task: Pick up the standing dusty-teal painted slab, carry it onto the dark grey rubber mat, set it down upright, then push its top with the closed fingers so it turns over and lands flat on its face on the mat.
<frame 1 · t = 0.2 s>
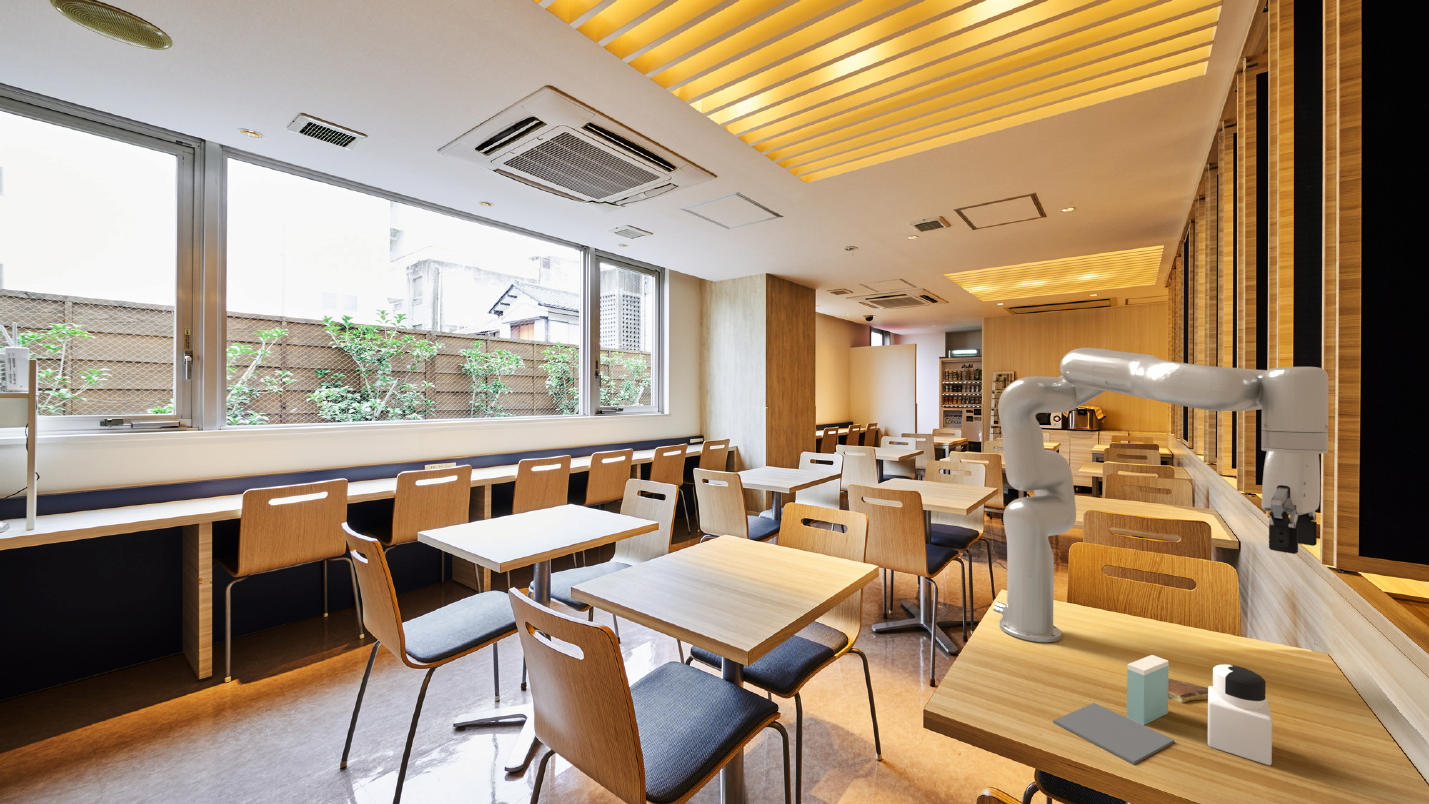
hand: (1293, 547, 90), 31 cm above the table, fingers open, 9 cm apart
medicine bottle: (1237, 747, 88), on the table
slab: (1147, 715, 96), on the table
shard: (1177, 693, 105), on the table
mat: (1112, 732, 91), on the table
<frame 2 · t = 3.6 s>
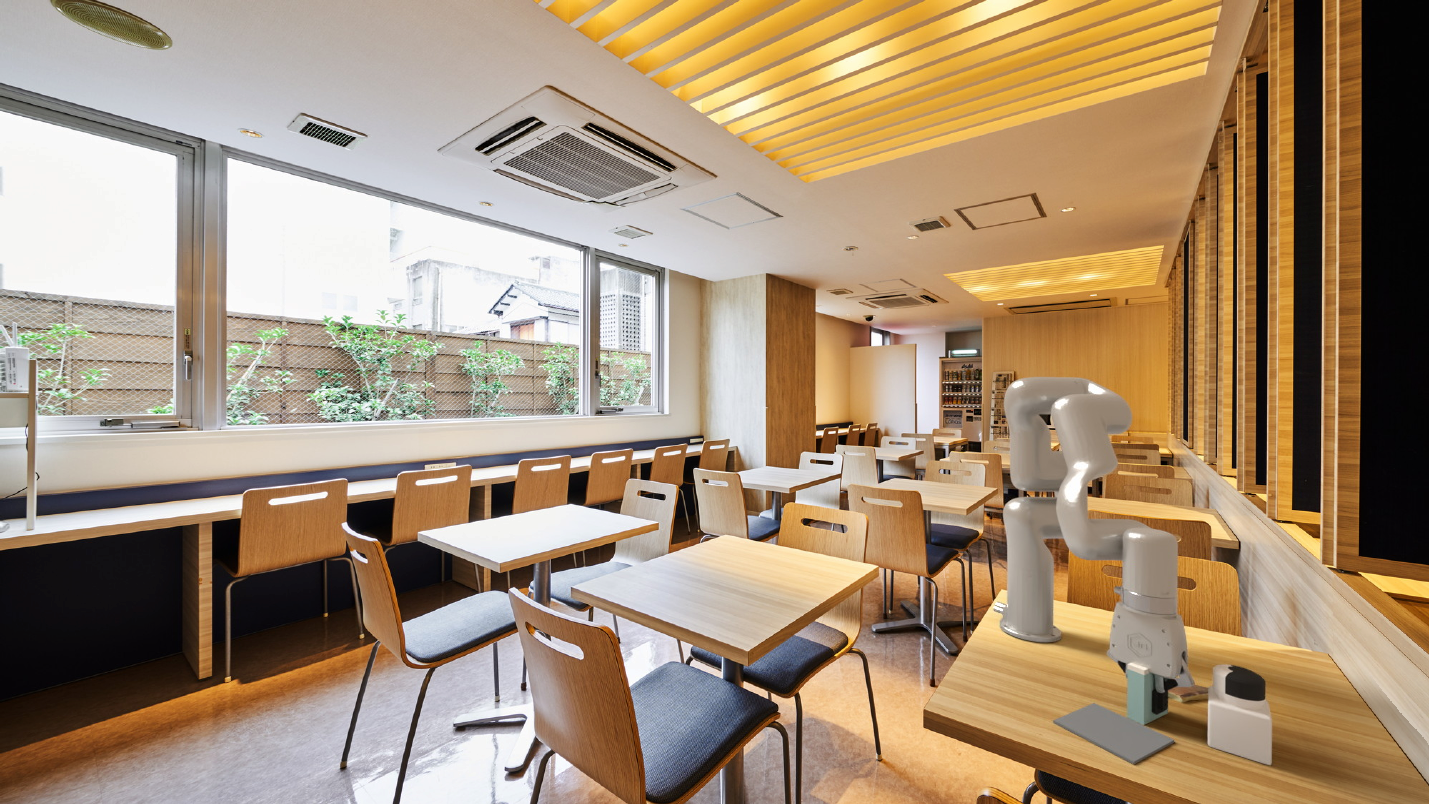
hand: (1147, 706, 96), 2 cm above the table, fingers closed on slab, 2 cm apart
slab: (1147, 715, 96), on the table, touching gripper
everything else where it was.
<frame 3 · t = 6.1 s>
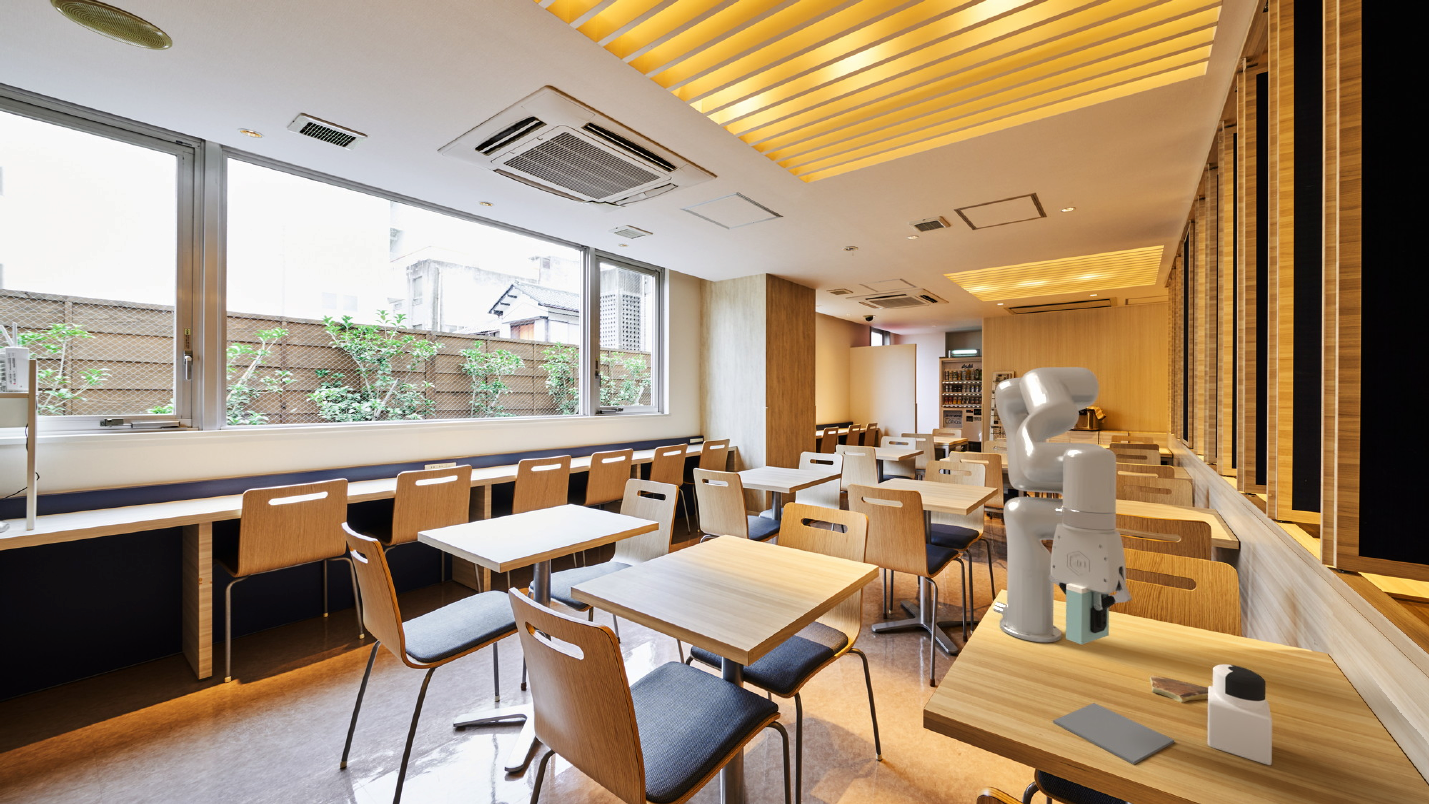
hand: (1087, 626, 94), 16 cm above the table, fingers closed on slab, 2 cm apart
slab: (1087, 637, 94), point 14 cm above the table, touching gripper
everything else where it was.
when the fingers open (3 cm above the table, at t = 8.5 s): slab stays where it is, resting on mat.
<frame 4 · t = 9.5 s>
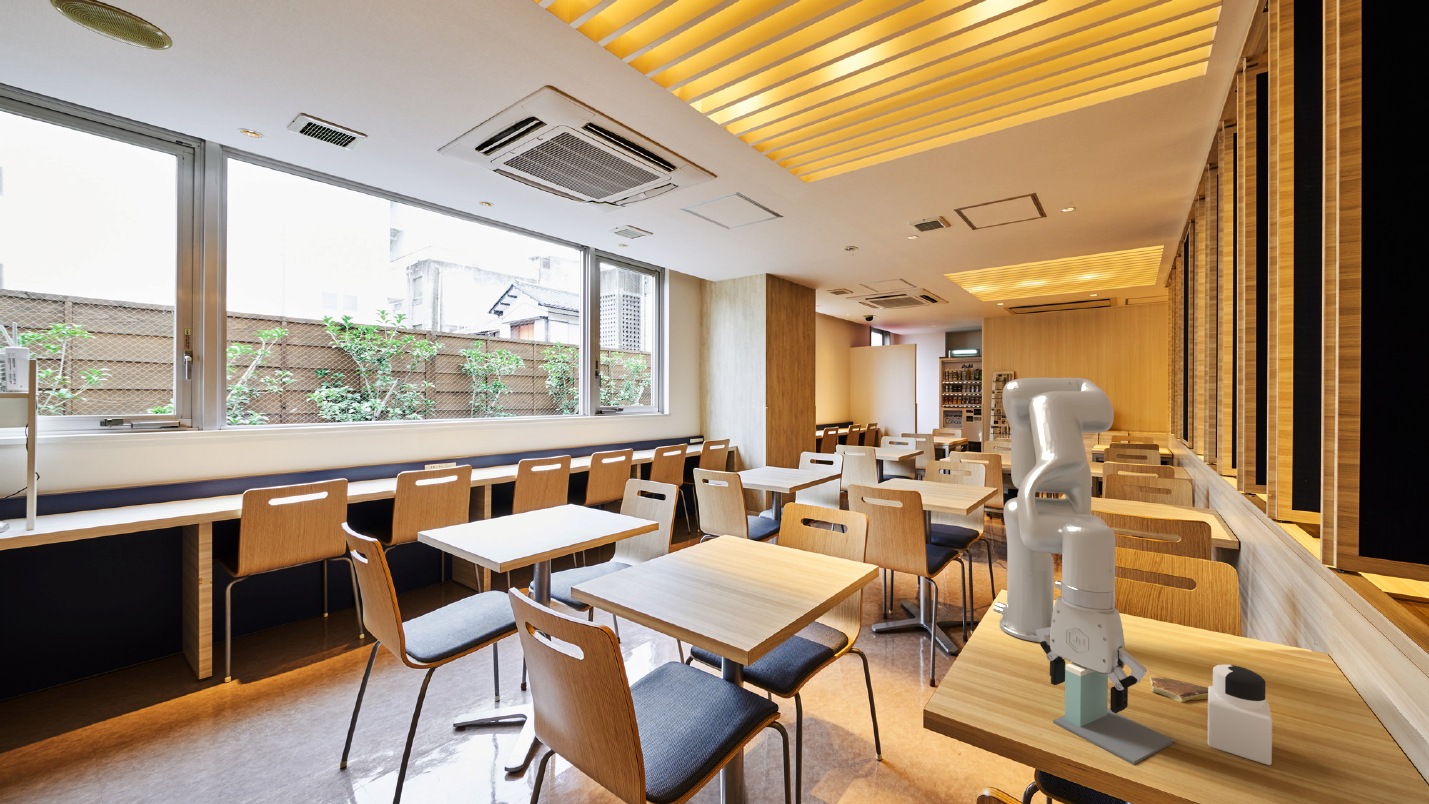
hand: (1086, 696, 94), 4 cm above the table, fingers open, 9 cm apart
slab: (1086, 716, 95), resting on mat
everything else where it was.
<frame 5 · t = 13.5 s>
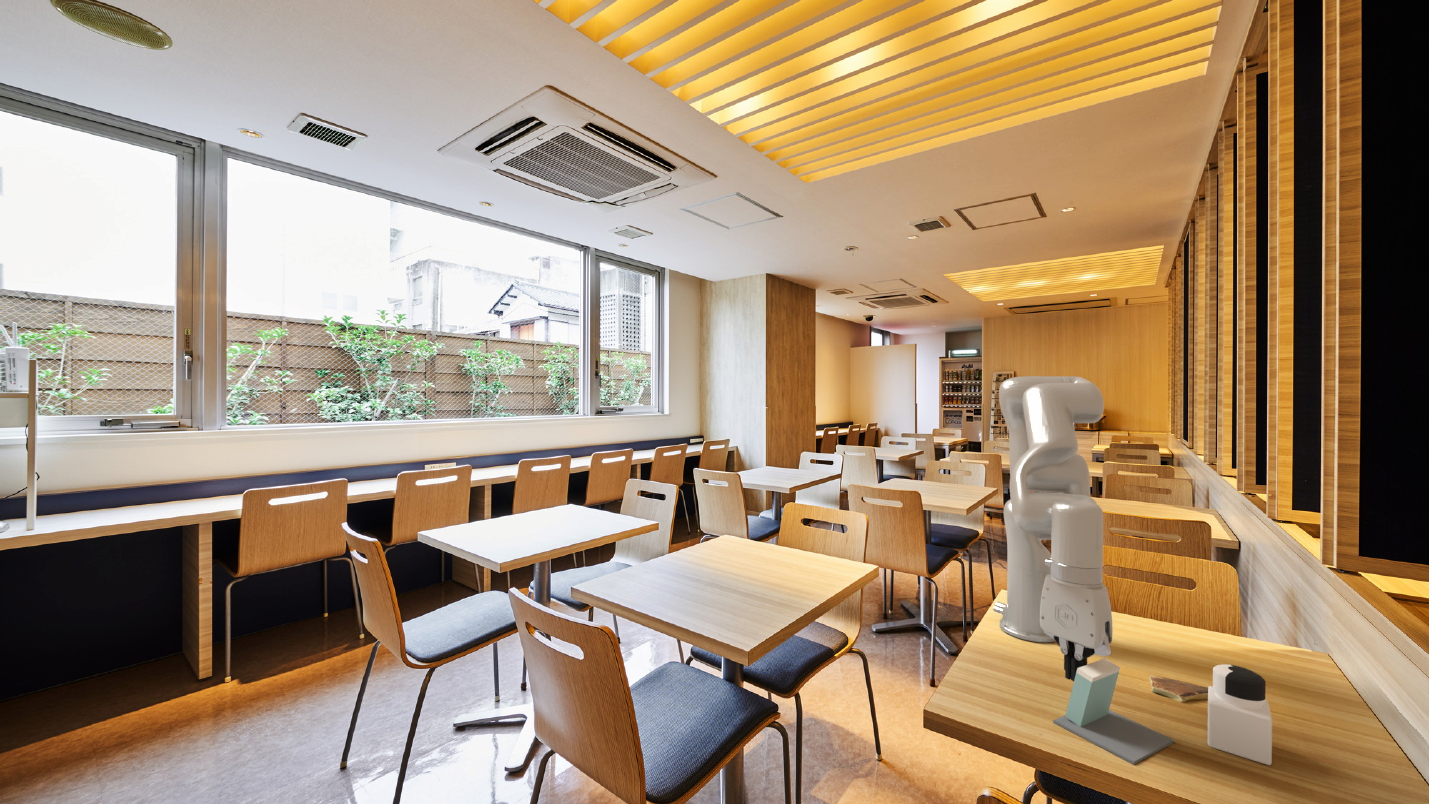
hand: (1075, 678, 96), 6 cm above the table, fingers closed
slab: (1086, 715, 95), point 1 cm above the table, tilted 12°, touching mat
everything else where it was.
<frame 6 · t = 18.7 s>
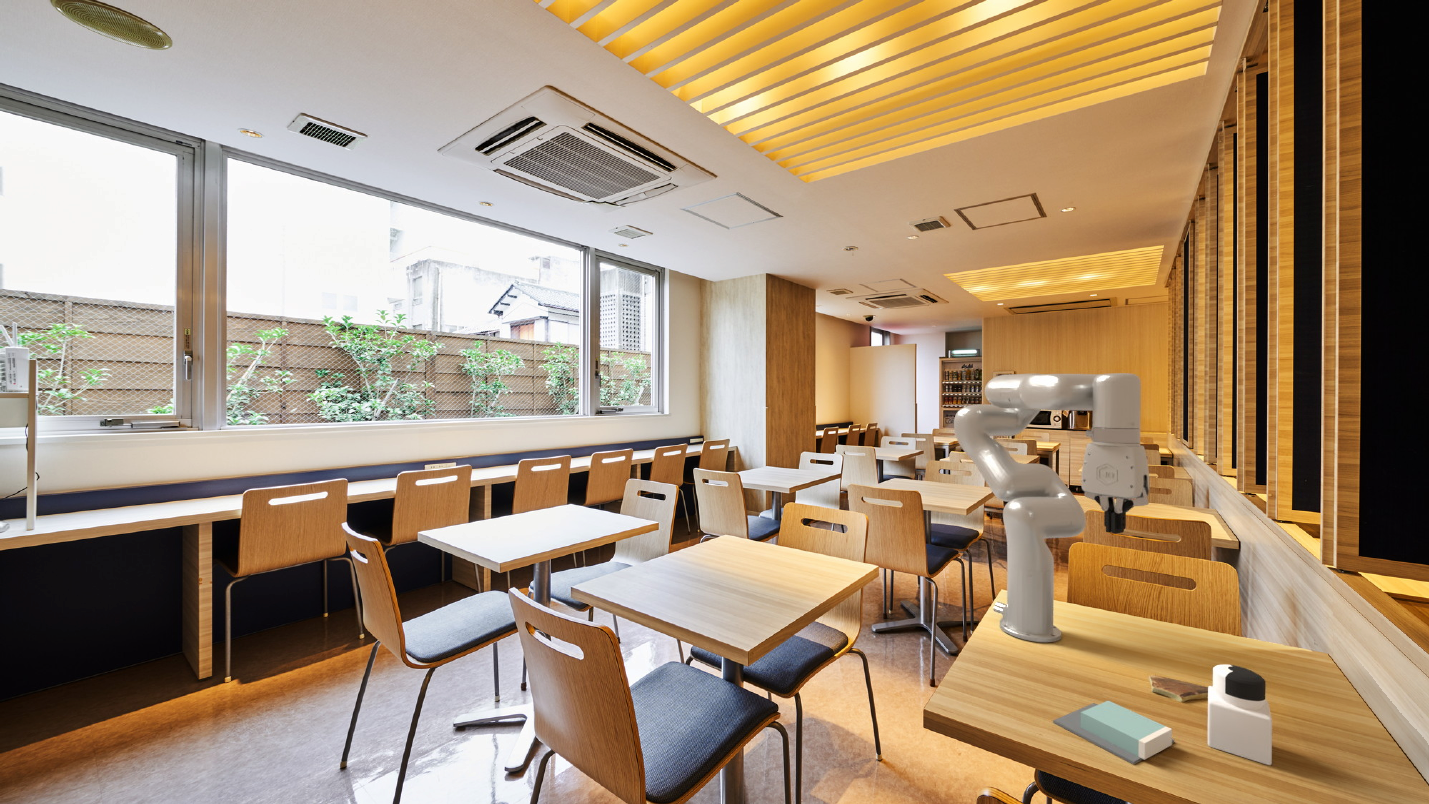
hand: (1114, 532, 107), 29 cm above the table, fingers closed
slab: (1094, 713, 93), point 2 cm above the table, tilted 90°, touching mat
everything else where it was.
at the end: slab tilted 90°; slab inside the target area on the mat (3.2 cm from its centre), point 1.6 cm above the mat's base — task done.
